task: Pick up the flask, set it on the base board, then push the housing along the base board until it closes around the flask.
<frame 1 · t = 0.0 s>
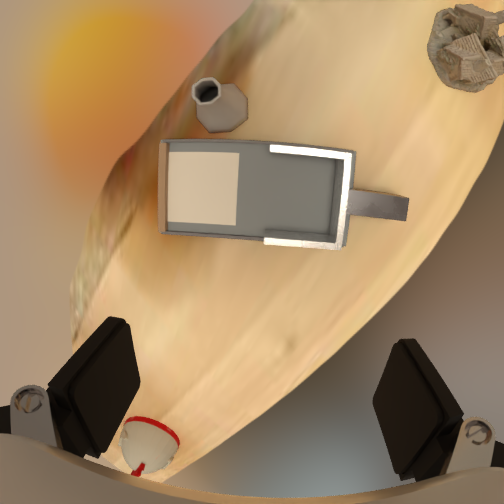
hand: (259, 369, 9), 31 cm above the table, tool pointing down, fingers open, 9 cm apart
flask: (222, 108, 35), on the table
kitchen timer: (152, 433, 56), on the table
housing: (339, 199, 34), point 3 cm above the table, slide at 13.0 cm
base board: (254, 189, 38), on the table
greyish brown lumpy piece: (457, 48, 29), on the table
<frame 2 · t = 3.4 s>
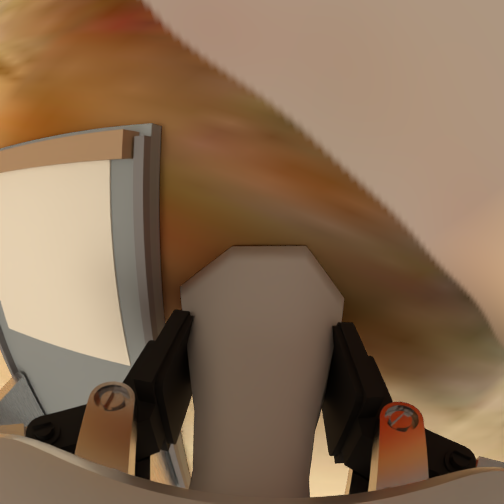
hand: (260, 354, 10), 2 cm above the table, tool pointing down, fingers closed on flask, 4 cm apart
flask: (263, 318, 13), on the table, touching gripper
housing: (102, 485, 14), point 4 cm above the table, slide at 13.0 cm
base board: (77, 365, 14), on the table
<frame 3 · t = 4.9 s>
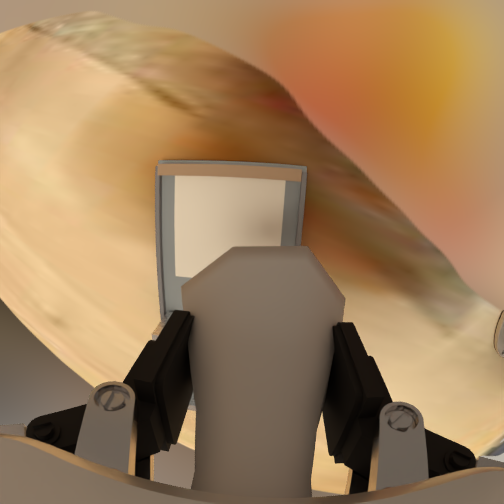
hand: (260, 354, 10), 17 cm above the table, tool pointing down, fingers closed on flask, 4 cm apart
flask: (263, 318, 13), point 14 cm above the table, touching gripper
housing: (220, 397, 28), point 4 cm above the table, slide at 13.0 cm
base board: (226, 297, 29), on the table
when the fingers open (4 cm above the table, at t = 6.9 s): flask stays where it is, resting on base board.
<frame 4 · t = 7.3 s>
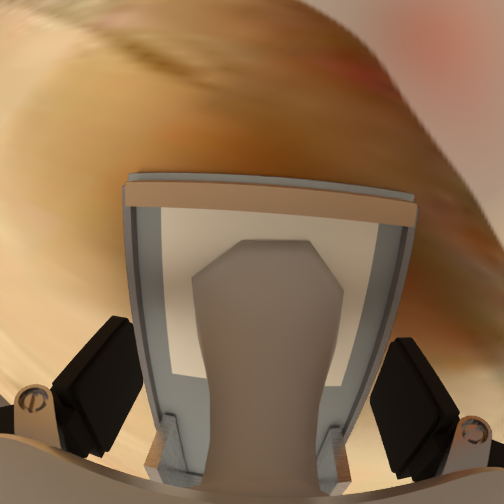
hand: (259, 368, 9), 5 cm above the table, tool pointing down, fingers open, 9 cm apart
flask: (268, 308, 14), point 1 cm above the table, touching base board
housing: (244, 503, 16), point 3 cm above the table, slide at 13.0 cm
base board: (255, 396, 17), on the table
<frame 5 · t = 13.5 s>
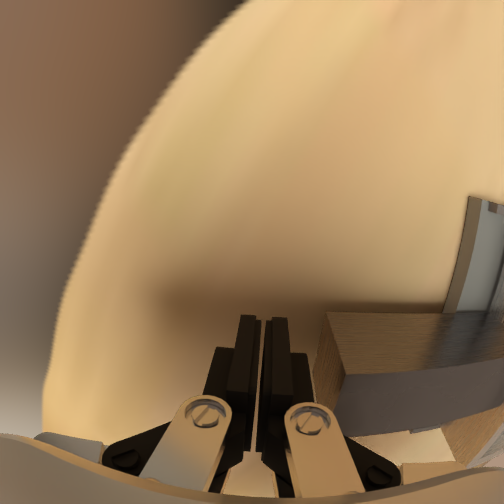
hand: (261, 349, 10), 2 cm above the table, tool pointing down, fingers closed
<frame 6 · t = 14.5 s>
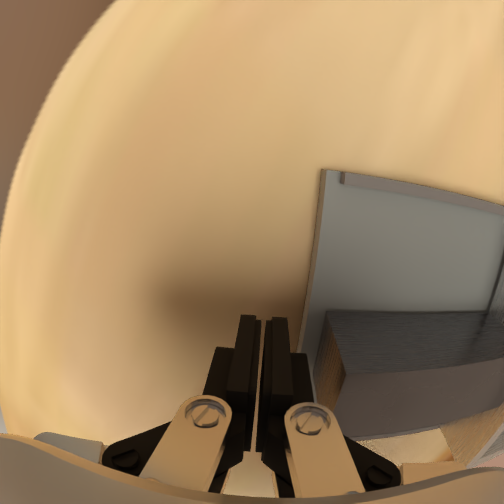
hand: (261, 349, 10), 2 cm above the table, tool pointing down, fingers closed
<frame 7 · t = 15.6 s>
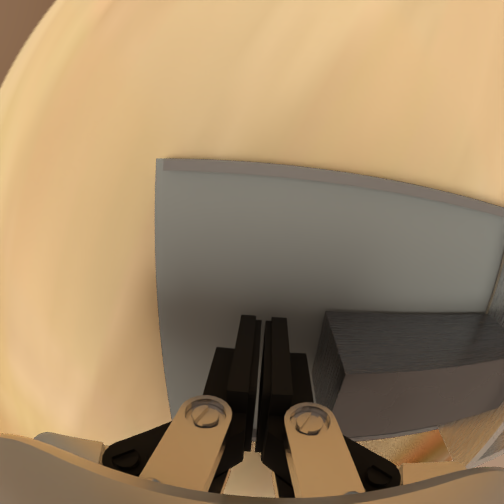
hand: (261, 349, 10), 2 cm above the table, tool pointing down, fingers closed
housing: (503, 363, 8), point 4 cm above the table, slide at -0.2 cm, touching gripper
base board: (437, 328, 12), on the table
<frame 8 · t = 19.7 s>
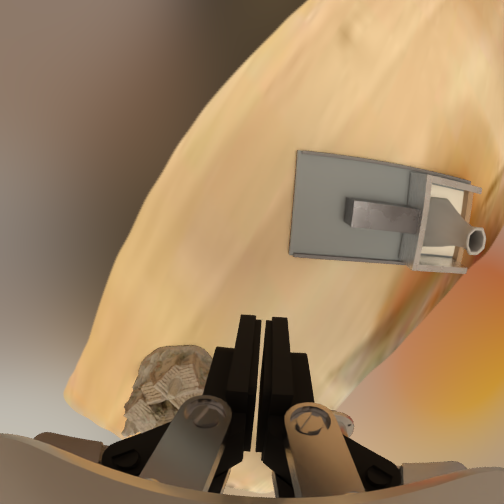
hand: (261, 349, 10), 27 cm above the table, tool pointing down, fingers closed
flask: (433, 221, 34), point 1 cm above the table, touching base board
housing: (415, 220, 32), point 3 cm above the table, slide at 0.0 cm
base board: (389, 212, 35), on the table
greyish brown lumpy piece: (184, 382, 46), on the table
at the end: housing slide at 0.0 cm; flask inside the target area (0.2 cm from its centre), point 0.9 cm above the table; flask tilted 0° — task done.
